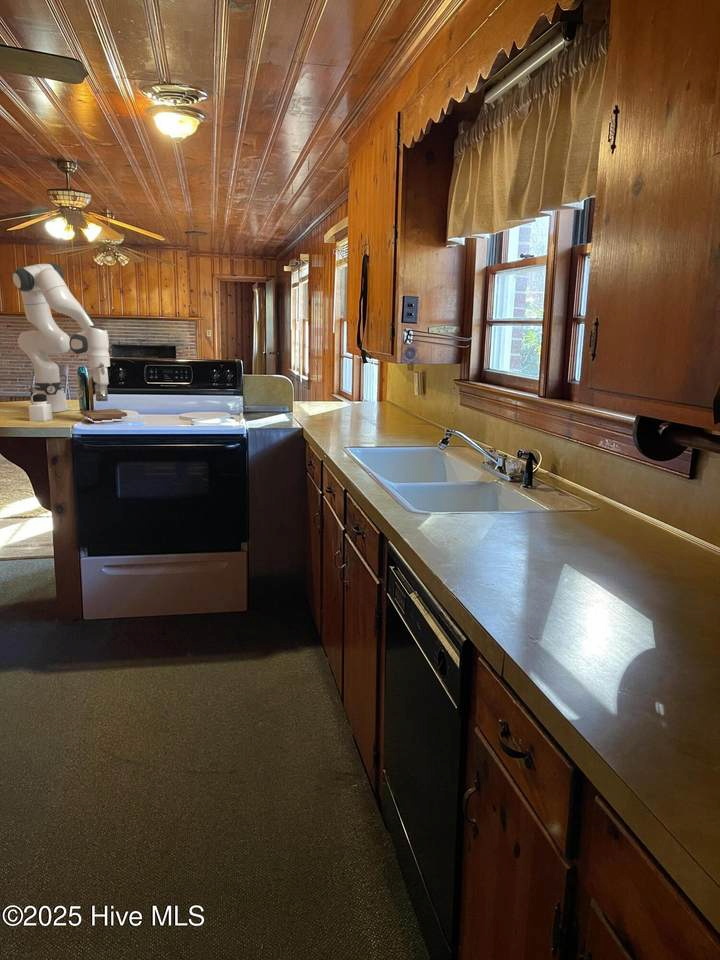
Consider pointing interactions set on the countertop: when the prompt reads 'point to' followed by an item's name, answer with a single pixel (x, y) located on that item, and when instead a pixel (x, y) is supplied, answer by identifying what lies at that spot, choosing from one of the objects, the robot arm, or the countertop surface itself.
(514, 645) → the countertop surface
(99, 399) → the grey metal cylinder
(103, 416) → the walnut stand
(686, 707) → the countertop surface
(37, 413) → the medicine bottle
